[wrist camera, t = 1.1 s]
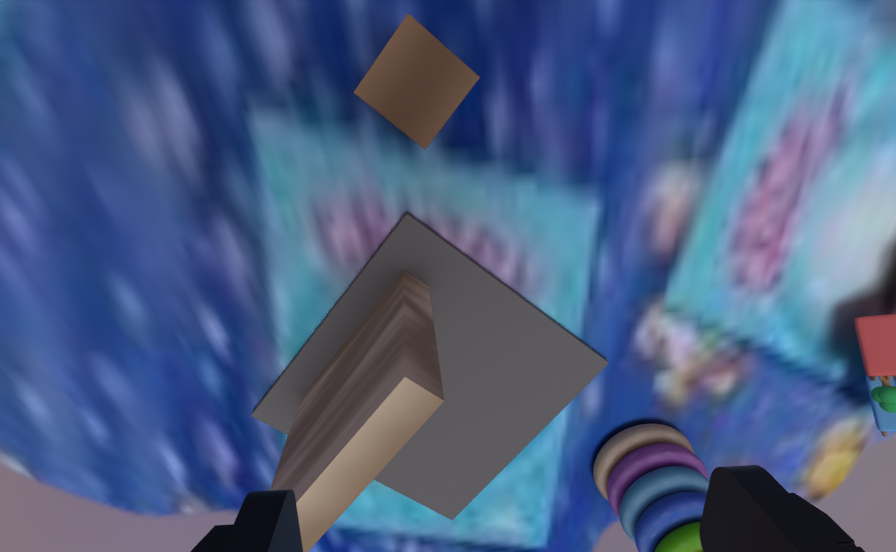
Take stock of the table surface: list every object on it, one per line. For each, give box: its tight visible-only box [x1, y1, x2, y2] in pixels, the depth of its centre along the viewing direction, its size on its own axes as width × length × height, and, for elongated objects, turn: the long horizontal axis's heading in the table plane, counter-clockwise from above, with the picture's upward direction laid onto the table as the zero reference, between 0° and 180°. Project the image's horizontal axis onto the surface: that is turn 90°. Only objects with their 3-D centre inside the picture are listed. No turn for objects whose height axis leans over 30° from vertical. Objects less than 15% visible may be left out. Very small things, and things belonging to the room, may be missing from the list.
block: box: [354, 13, 480, 149], centre depth 24 cm, size 4×4×6 cm
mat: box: [251, 212, 609, 520], centre depth 34 cm, size 18×18×1 cm
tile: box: [270, 270, 444, 552], centre depth 26 cm, size 2×12×12 cm, turn 142°
